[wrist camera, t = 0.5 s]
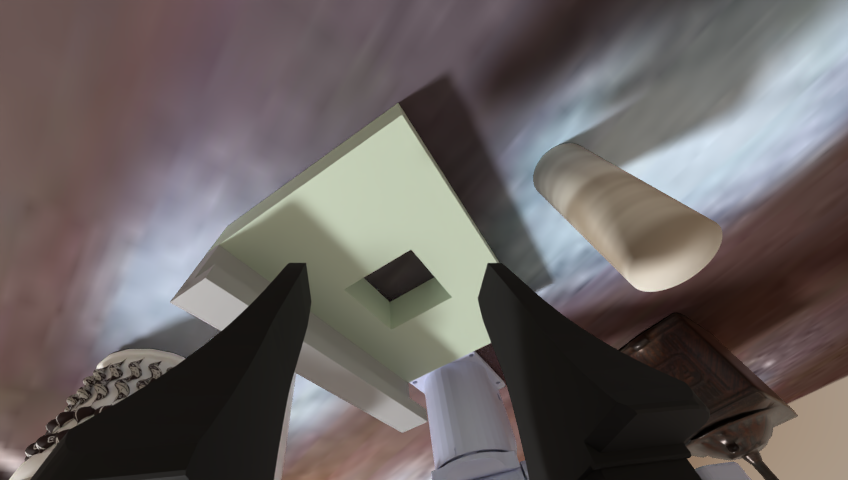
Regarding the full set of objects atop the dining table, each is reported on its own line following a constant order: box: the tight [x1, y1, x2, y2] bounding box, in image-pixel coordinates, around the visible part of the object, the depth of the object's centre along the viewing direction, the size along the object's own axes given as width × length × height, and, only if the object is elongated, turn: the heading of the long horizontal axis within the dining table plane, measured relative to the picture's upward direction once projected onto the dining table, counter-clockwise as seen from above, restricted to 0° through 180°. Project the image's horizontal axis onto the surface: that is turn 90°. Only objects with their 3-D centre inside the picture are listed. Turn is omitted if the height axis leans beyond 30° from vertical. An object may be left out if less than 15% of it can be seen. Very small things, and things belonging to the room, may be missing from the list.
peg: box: [533, 143, 722, 292], centre depth 17 cm, size 4×4×10 cm
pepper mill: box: [620, 313, 798, 480], centre depth 31 cm, size 16×11×18 cm
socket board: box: [170, 103, 500, 433], centre depth 22 cm, size 20×14×7 cm
